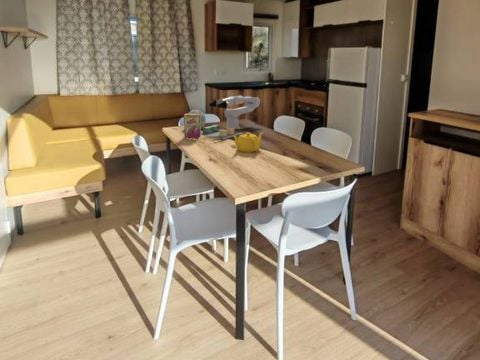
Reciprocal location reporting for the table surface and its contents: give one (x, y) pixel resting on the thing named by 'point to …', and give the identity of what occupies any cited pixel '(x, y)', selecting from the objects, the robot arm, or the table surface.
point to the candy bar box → (192, 125)
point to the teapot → (248, 142)
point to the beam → (210, 129)
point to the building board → (216, 135)
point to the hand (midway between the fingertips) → (213, 105)
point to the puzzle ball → (201, 116)
